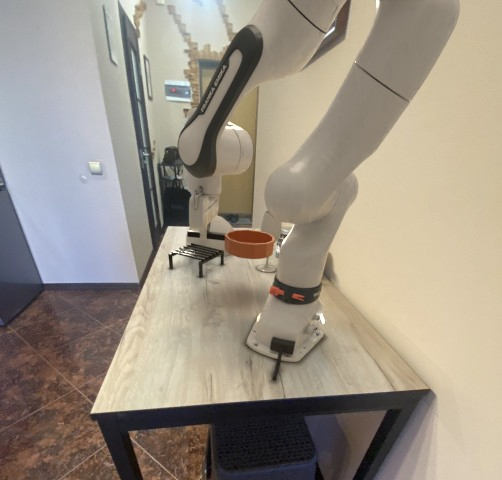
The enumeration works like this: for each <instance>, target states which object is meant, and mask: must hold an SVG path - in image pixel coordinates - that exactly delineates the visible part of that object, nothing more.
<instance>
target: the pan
mask: <svg viewBox="0 0 502 480" xmlns="http://www.w3.org/2000/svg"><path fill="white" fill-rule="evenodd" d="M187 236H188V237H195V238H200V232H199V230H192V229H189V228H188V229H187V230H186V237H187ZM207 239H213V240H222V241H225V250H226V252H227V253H229V254H230V255H229V256H233V257H235V258H238V259H239V258H240V259H247V260H261V259H267V257H269V258H270V257H271V256H272V255H273V252H274V247H275V243H274V239H275V237H273V236H272V235H270V234H268V233H265V232H261V231H260V230H254V229H234V230H233V231H230V232H227V233H220V232H210V231H207Z"/></svg>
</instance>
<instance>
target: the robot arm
mask: <svg viewBox="0 0 502 480" xmlns="http://www.w3.org/2000/svg"><path fill="white" fill-rule="evenodd" d="M347 1H348V0H262V2H261V4H260V5H259V6H258V8H257V10H256V11H255V13H254V15H253V16H252V18H250V20H248V22H247V24H245V26H243V27H242V28H240V30H238V32H237V33H235V35H234V37H233V38H232V40H231V41H230V43H229V45H228V46H227V48H226V50H225V51H224V54H223V56H222V57H221V59H220V62H219V63H218V65H217V67H216V69H215V71H214V73H213V75H212V77H211V79H210V80H209V83H208V85H207V87H206V89H205V91H204V93H203V95H202V97H201V99H200V101H199V103H198V104H197V105H196V106H192V107H191V108H190V109H189V110H188V111H187V114H186V120H185V123H184V125H183V126H182V128H181V130H180V132H179V134H178V139H177V154H178V158H179V160H180V162H181V164H182V166H183V168H185V170H186V176H187V177H186V179H187V191H188V192H189V193H192V195H191V196H190V197H189V200H188V226H189V228H191V229H198V230H199V232H200V239H201V240H206V239H207V231H210V228H211V221H212V220H213V218H214V217H215V216H216V215H217V214H219V210H220V197H221V193H222V189H223V181H222V179H223V178H222V177H223V176H235V175H241V174H245V173H246V172H247V171H248V170H249V169H250V167H251V166H252V164H253V161H254V156H255V146H254V141H253V138H252V135H251V134H250V133H249V131H248V130H247V129H245V128H242V127H240V126H238V125H236V124H235V123H233V122H231V119H232V117H233V116H234V114H235V113H236V111H237V109H238V107H239V106H240V104H241V102H242V100H243V99H244V98H245V97H246V96H247V95H248V94H249V93H250V92H251V91H252V90H254V89H255V88H257V87H259V86H261V85H263V84H266V83H269V82H272V81H276V80H281V79H286V78H289V77H292V76H295V75H296V74H298V73H301V71H302V70H303V69H304V68H305V67H306V65H308V63H309V62H310V61H311V60H312V58H313V57H314V55H315V54H316V53H317V51H318V49H319V48H320V46H321V44H322V42H323V41H324V39H325V37H326V35H327V34H328V33H329V30H330V28H331V27H332V25H333V23H334V21H335V19H336V18H337V16H338V14H339V13H340V11H341V10H342V8H343V6H344V5H345V4H346V2H347ZM375 4H376V5H375V7H376V8H375V14H374V19H373V22H372V25H371V27H370V29H369V32H368V34H367V36H366V38H365V40H364V42H363V44H362V46H361V47H360V49H359V51H358V53H357V55H356V57H355V59H354V61H353V62H352V64H351V66H350V68H349V70H348V71H347V74H346V76H345V78H343V81H342V83H341V84H340V87H339V88H338V89H337V92H336V93H335V96H334V98H333V99H332V101H331V103H330V104H329V107H328V109H327V110H326V112H325V113H324V115H323V117H322V118H321V119H320V121H319V122H318V124H317V125H316V126H315V128H314V129H313V131H311V133H310V134H309V135H308V137H307V138H306V139H305V140H304V142H303V143H302V144H301V145H300V147H298V149H296V151H295V152H294V153H293V154H292V156H291V157H290V158H289V159H288V160H287V161H286V162H284V163H283V164H281V165H279V166H278V167H277V168H276V169H274V170H273V171H272V172H271V173H270V175H269V176H268V178H267V180H266V182H265V186H264V194H263V197H264V203H265V207H266V211H268V212H269V213H270V215H271V216H272V217H273V218H274V219H276V220H277V221H280V222H281V223H285V224H292V227H291V229H290V231H289V233H288V234H287V236H286V237H285V238H284V239H283V241H282V242H281V244H280V247H279V254H278V261H277V266H276V267H277V268H276V273H275V274H274V278H273V279H272V280H273V281H272V284H271V286H270V288H269V290H268V296H267V298H266V301H265V303H264V306H263V308H262V309H261V312H260V313H259V314H258V315H257V317H256V319H255V321H254V323H253V326H252V328H251V330H250V331H249V334H248V336H247V339H246V342H245V344H246V345H247V346H248V347H249V348H250V349H252V350H253V351H254V352H256V353H259V354H261V355H263V356H265V357H269V358H272V359H275V360H276V364H275V369H274V372H273V375H272V379H271V380H272V381H276V380H277V378H278V377H277V376H278V374H279V369H280V366H281V361H283V362H291V363H292V362H293V363H297V362H299V361H301V360H302V359H303V358H304V357H305V356H306V355H307V354H308V353H309V352H310V351H311V350H312V349H313V348H314V347H315V346H316V345H317V344H318V343H319V342H320V341H321V340H322V339H323V338H324V334H325V333H324V331H323V330H322V329H320V324H321V323H322V325H324V324H325V322H326V320H325V318H324V316H323V308H324V306H323V304H322V302H321V301H320V296H321V292H322V289H323V281H322V279H323V275H324V271H325V266H326V262H327V259H328V255H329V252H330V250H331V246H332V244H333V241H334V239H335V238H336V235H337V233H338V230H339V229H340V226H341V224H342V222H343V220H344V218H345V215H346V214H347V212H348V210H349V209H350V208H351V206H352V205H353V204H354V203H355V202H356V199H357V197H358V194H359V180H358V178H357V175H356V173H355V172H354V171H355V170H356V169H357V168H358V167H359V166H360V165H362V164H363V163H364V162H365V161H366V160H367V159H368V158H370V157H372V155H374V154H375V152H376V151H377V150H378V149H379V148H380V146H381V145H382V143H383V142H384V140H385V139H386V138H387V136H388V135H389V133H390V132H391V131H392V129H393V128H394V126H395V125H396V124H397V122H398V120H399V119H400V117H401V116H402V115H403V114H404V112H405V111H406V110H407V108H408V107H409V106H410V103H411V102H412V101H413V100H414V98H415V97H416V95H417V94H418V92H419V91H420V89H421V87H423V84H424V83H425V82H426V80H427V78H428V77H429V75H430V74H431V71H432V70H433V68H434V67H435V65H436V63H437V61H438V60H439V58H440V56H441V54H442V53H443V51H444V49H445V48H446V46H447V43H448V42H449V40H450V38H451V36H452V35H453V32H454V30H455V28H456V26H457V23H458V20H459V17H460V11H461V3H460V0H375ZM217 216H218V215H217Z"/></svg>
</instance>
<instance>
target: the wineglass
mask: <svg viewBox="0 0 502 480" xmlns="http://www.w3.org/2000/svg"><path fill="white" fill-rule="evenodd" d="M259 231H261V232H265V233H268V234H270V235H272V236H273V237H275V239H274V244H276V243H277V242H278V241H279V239H280V237H281V235H282V222H280V221H277V220H276V219H274V218H273V217H272V216H271V215H270V213H269V212H268V210H265V211H264V212H263V215H262V220H261V224H260V229H259ZM269 259H270V257H267V258H266V260H265V264H260V265H258V266H257V268H256V269H257V270H258V271H259V272H263V273H274V272H276V271H277V268H276V267H275V266H273V265H269Z"/></svg>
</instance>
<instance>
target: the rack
mask: <svg viewBox="0 0 502 480" xmlns="http://www.w3.org/2000/svg"><path fill="white" fill-rule="evenodd" d="M201 247H202V248H201ZM205 248H206V249H205ZM189 249H190V250H189ZM199 249H200V250H199ZM209 249H210V250H209ZM203 250H204V251H203ZM213 250H214V251H213ZM197 251H198V252H197ZM207 251H208V252H207ZM217 251H218V252H217ZM191 252H192V253H191ZM201 252H202V253H201ZM211 252H212V253H211ZM205 253H206V254H205ZM198 254H199V255H198ZM209 254H210V255H209ZM202 255H203V256H202ZM220 255H221V257H220V263H219V264H220V265H222V266H224V264H225V256H224V251H223V250H219V249H215V248H211V247H206V246H202V245H198V244H194V243H190V245H187V246H186V245H183V246H182V247H181V246H180V247H179V248H176V249H174V250H170V252H169V253H168V254H167V257H168V267H169V269H170V270H173V269H174V259H173V257H175V256H182V257H186V258H189V259H192V260H193V259H194V260H197V261H198V277H199V278H203V277H204V269H203V267H204V266H203V265H204V264H206V263H208V262H210V261H212V260H214V259H216V258H219V257H218V256H220Z"/></svg>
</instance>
